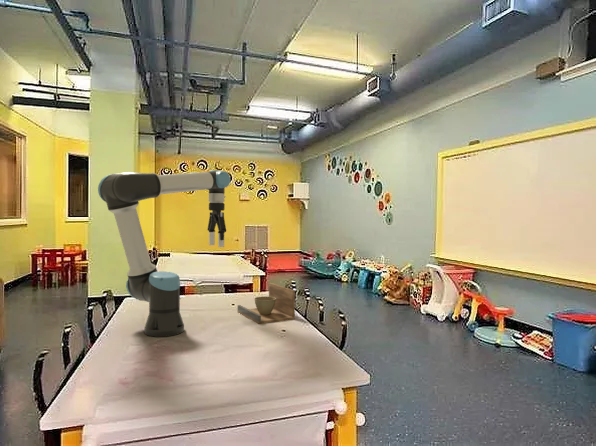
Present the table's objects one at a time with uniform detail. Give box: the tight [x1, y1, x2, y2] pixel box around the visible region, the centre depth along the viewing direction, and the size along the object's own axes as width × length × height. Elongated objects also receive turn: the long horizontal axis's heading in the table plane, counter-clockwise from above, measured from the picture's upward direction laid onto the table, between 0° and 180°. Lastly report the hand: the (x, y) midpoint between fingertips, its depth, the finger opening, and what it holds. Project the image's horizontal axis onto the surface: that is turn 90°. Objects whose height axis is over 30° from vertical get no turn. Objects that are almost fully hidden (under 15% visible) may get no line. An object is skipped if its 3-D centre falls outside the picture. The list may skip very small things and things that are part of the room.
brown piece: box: [237, 282, 296, 325], centre depth 193 cm, size 18×24×13 cm
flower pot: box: [254, 296, 276, 315], centre depth 194 cm, size 10×10×7 cm
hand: (216, 246), depth 202 cm, fingers open, 13 cm apart
